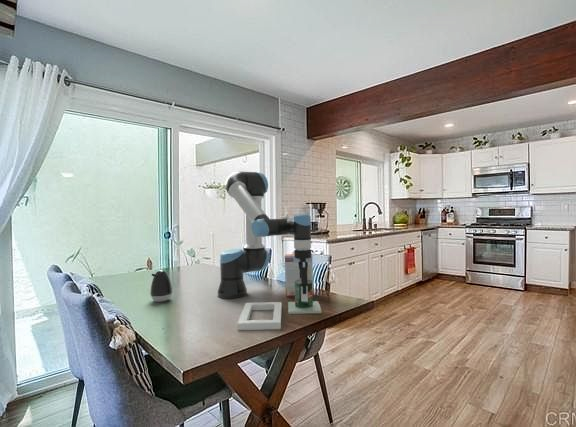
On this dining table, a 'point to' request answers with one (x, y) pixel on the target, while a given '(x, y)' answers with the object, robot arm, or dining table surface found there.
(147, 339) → the dining table surface
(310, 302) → the canned tomato
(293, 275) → the cracker box
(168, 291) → the pump dispenser
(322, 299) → the dining table surface
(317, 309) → the tile
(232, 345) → the dining table surface
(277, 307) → the frame
